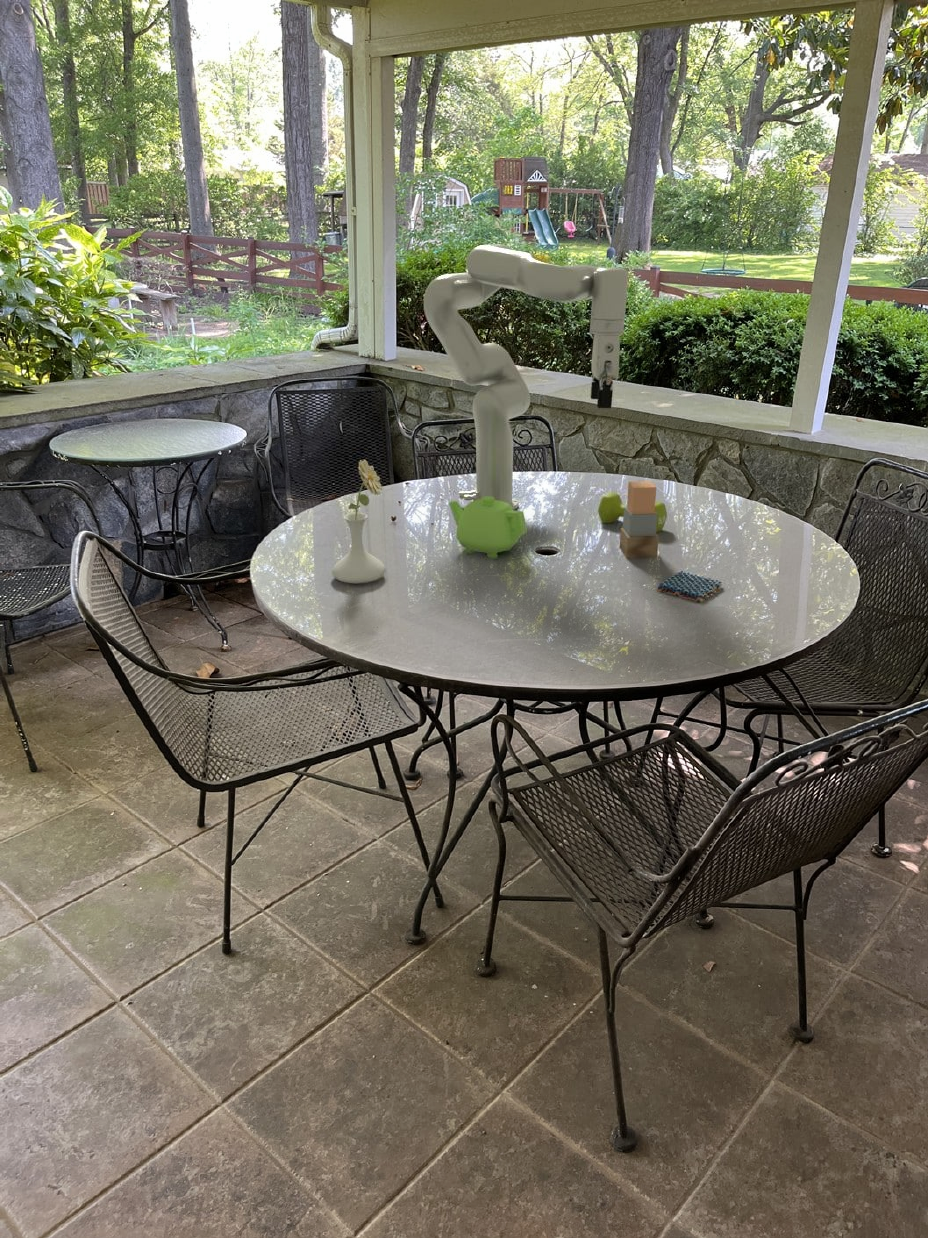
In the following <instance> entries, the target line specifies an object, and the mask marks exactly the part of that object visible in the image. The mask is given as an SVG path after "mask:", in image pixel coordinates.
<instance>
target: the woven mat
mask: <svg viewBox="0 0 928 1238" xmlns="http://www.w3.org/2000/svg"><path fill="white" fill-rule="evenodd" d="M722 586H723V584H722V581H719V580H718V579H716V580H715V579H712V578H709V577H708V578H706V577H704V576H703V575H702V576H699V575H697V574H692V573H691V574H690V572H687V573H686V572H684V571H683V570H680V572H676V573H675V574H674V575H671V577H669V578H667V579H666V580H663V582H660V583H659V585H658V586H657V588H656V590H657V591H659V592H661V593H667V594H670V595H674V596H676V597H680V598H684V599H688V600H692V601H695V602H698V603H702V602H704V601H705V599H708V598H709V597H711V596H712V595H713V594H716V593H717V592H718V591H720V590H722V589H723V587H722ZM716 591H717V592H716ZM708 594H712V595H708ZM713 596H714V595H713Z"/></svg>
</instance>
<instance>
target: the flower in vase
mask: <svg viewBox="0 0 928 1238" xmlns="http://www.w3.org/2000/svg"><path fill="white" fill-rule="evenodd" d="M358 473H359V475H360V479H361V480H362V484H361V486H360V488H359V491H358V494H357V501H356V503H353V502H351V503H350V504H349V506H348V508H347V509H349V510H355V512H353V513H347V514H345V515H343V517H342V518H343V520H344V521H345V522H346V524H347V525H348V528H349V533H350V537H351V548H350V550H349V552H348V553H346V555H345V556H343V557H342V558H341V559H340V560H339V561H337V563H335V565H334V566H333V569H332V571H331V573H332V576H333V577H334V578H335V579H336V580H338V581H340V582H343V583H346V584H347V583H348V584H366V583H371V582H374V581H376V580H379V579H380V578H382V577H383V576H384V575H385V573H386V571H387V570H386V569H387V568H386V566H385V564H384V563H383V562H381V560H380V559H378V558H377V557H375V556H373V555H372V554H370V553H369V551H367V550H365V547H364V543H363V529H364V524H365V522H366V520H367V519H368V514H366V513H363V512H358V509H359V508H361V505H362V506H364V507H366V506H368V505H369V503H370V498H369V497H368V495H367V494H364V493H361V492H362V490H363V487H364V486H365V488H366V489H367V490H368V491H369V492H370V494H371V495H372V494H373V495H375V496H376V495H381V492H380V491H381V490H382V491H383V487H382V484H381V483H380V480H381V477H380V476H379V475H377V472H376V471H375V469H374V465H369V463H368V461H367V460H366V459H363V460H361V459H360V460H359V462H358ZM359 502H360V504H361V505H359Z"/></svg>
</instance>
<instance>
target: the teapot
mask: <svg viewBox="0 0 928 1238" xmlns="http://www.w3.org/2000/svg"><path fill="white" fill-rule="evenodd" d="M494 499H495V498H494V497H492V496H485V497H482V499H479V500H476V501H473V502H471V501H470V502H469V503H467V504H466V506H465V507H464V508H463V507H462V506H461V505H460V504H459V502H458V500H457V501H456V500H451V501H449V502H448V505H449V507H450V510H451V513H452V516H453V518H454V521H455V524H456V526H457V527H456V531H455V532H456V533H455V534H456V539H457V541H458V543H459V544H460V545H461V546H462V547H463V548H465V550H464V551H463V552H464V553H465V554H473V553H476V552H479V553H486V558H488V559H498V553H503V552H506V551H511V550H512V547H514V546H515V545H516V544H517V542H518V541H519V539H520V537H522V536H524V535H525V534H527V533H528V528H527V524H526V519H525V514H524V511H523V510H513V509H512V507H511V506H510V504H508V503H506V502H503V501H499V500H494Z"/></svg>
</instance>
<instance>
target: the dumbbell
mask: <svg viewBox="0 0 928 1238" xmlns="http://www.w3.org/2000/svg"><path fill="white" fill-rule="evenodd" d="M624 507H627V504H623V501H622V498H621V496H620V494H618V493H616V492H609V493H606V494H604V495H602V497H601V499H600V503H599V505H598V509H597V510H598V511H597V512H598V516H599V520H600V521H601V522H602V523H604V524H611V523H615V522H616V521H618V520H619V518H620V517H621V518H623V517H624ZM655 512H656V513H657V514H658V515H657V526H656V534H658V533H660V532H661V531H662V530H663V529H664V527H665V524H666V521H667V517H668V512H667V508H666V505H665V503H664V502H661V501H655Z"/></svg>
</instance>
